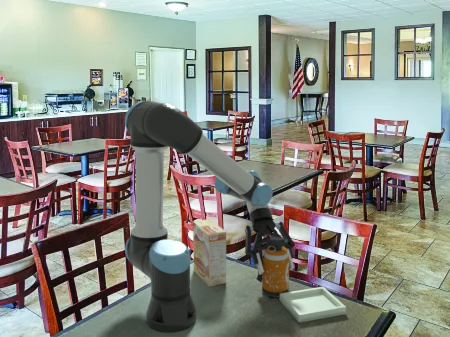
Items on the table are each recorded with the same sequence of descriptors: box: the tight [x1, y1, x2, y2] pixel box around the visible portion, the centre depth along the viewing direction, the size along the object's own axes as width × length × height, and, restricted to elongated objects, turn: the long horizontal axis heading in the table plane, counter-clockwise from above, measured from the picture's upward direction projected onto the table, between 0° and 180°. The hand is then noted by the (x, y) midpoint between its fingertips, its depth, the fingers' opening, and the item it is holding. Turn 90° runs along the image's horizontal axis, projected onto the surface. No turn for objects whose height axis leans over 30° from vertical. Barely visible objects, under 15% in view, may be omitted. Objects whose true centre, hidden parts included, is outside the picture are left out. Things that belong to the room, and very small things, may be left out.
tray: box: [279, 286, 347, 324], centre depth 146 cm, size 16×14×2 cm
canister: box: [256, 235, 290, 298], centre depth 154 cm, size 9×11×20 cm
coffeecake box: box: [192, 218, 227, 287], centre depth 166 cm, size 15×7×20 cm, turn 25°
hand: (276, 270), depth 152 cm, fingers closed on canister, 10 cm apart
